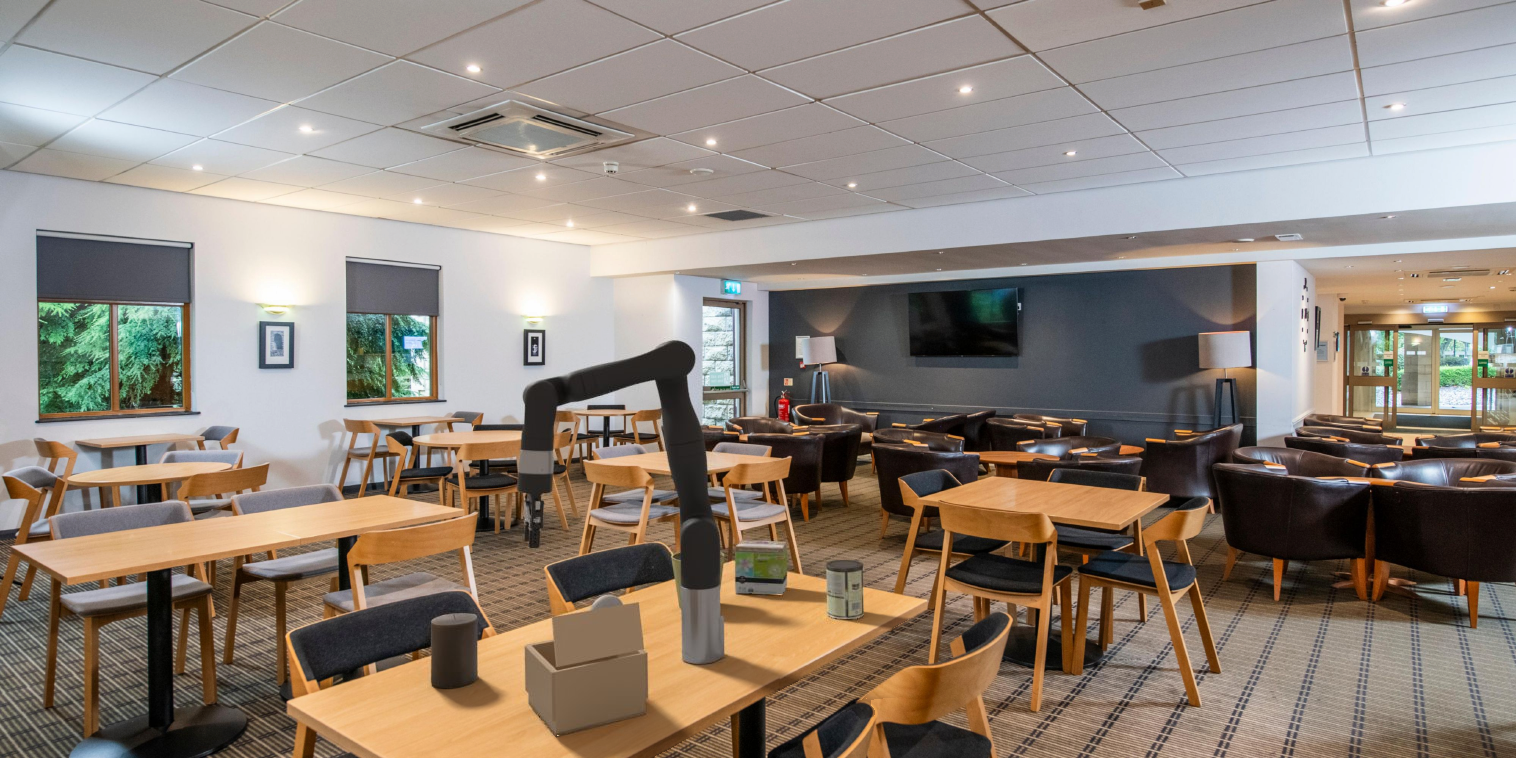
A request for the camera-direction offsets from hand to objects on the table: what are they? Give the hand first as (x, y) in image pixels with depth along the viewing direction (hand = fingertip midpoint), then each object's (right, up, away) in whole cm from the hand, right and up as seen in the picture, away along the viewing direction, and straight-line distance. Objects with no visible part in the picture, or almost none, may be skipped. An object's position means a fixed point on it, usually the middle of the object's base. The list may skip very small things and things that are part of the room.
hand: (531, 544), depth 177 cm
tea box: (+51, -29, +71) cm, 92 cm away
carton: (+15, -30, -15) cm, 37 cm away
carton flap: (+19, -13, -22) cm, 32 cm away
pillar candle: (-17, -31, +1) cm, 35 cm away
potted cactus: (+33, -30, +55) cm, 71 cm away
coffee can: (+74, -29, +46) cm, 92 cm away
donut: (+10, -30, +32) cm, 45 cm away
